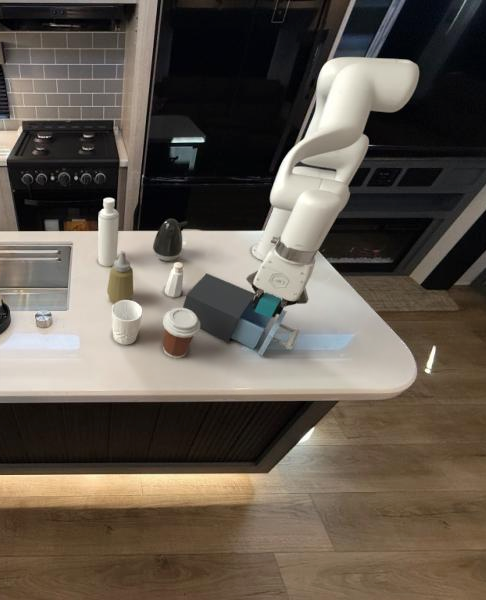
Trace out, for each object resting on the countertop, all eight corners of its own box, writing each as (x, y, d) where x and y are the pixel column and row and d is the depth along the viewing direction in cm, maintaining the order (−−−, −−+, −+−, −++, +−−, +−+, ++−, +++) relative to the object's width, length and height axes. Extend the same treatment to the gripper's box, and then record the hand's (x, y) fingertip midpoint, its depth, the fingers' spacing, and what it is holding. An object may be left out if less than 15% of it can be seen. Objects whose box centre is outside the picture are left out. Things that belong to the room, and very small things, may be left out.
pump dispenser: (182, 265, 113) (191, 227, 102) (153, 264, 113) (159, 227, 102) (177, 249, 120) (184, 212, 110) (150, 249, 120) (155, 212, 110)
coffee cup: (181, 332, 89) (189, 301, 81) (198, 356, 82) (209, 325, 74) (152, 340, 87) (157, 308, 79) (167, 365, 80) (175, 335, 72)
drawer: (293, 339, 86) (306, 319, 80) (280, 366, 79) (293, 346, 74) (229, 309, 94) (236, 290, 89) (212, 331, 88) (220, 311, 83)
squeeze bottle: (130, 310, 95) (135, 262, 83) (104, 306, 97) (105, 258, 84) (133, 293, 101) (138, 245, 89) (109, 290, 102) (110, 242, 90)
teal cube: (259, 303, 82) (265, 291, 79) (275, 310, 80) (281, 298, 78) (254, 311, 80) (259, 299, 77) (270, 318, 78) (276, 307, 75)
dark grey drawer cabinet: (244, 318, 93) (255, 293, 86) (227, 343, 86) (238, 319, 79) (199, 297, 100) (206, 273, 93) (180, 318, 93) (186, 294, 86)
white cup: (123, 321, 92) (125, 295, 85) (144, 335, 88) (148, 310, 81) (105, 335, 88) (105, 310, 81) (126, 351, 84) (128, 326, 77)
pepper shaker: (174, 300, 99) (180, 272, 91) (160, 291, 102) (165, 264, 94) (184, 292, 101) (191, 265, 94) (171, 284, 104) (177, 257, 97)
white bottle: (105, 253, 118) (106, 188, 101) (120, 259, 115) (124, 194, 98) (94, 262, 114) (94, 196, 97) (110, 268, 111) (112, 201, 94)
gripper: (250, 243, 70) (227, 303, 82) (336, 272, 62) (296, 334, 74) (262, 230, 74) (238, 289, 86) (343, 256, 66) (304, 317, 78)
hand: (265, 309), depth 80 cm, fingers closed on teal cube, 4 cm apart
